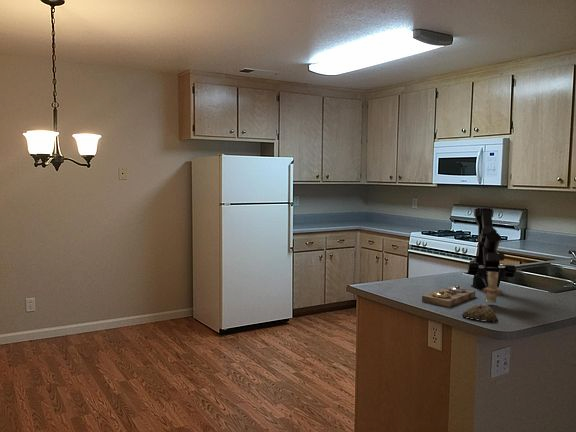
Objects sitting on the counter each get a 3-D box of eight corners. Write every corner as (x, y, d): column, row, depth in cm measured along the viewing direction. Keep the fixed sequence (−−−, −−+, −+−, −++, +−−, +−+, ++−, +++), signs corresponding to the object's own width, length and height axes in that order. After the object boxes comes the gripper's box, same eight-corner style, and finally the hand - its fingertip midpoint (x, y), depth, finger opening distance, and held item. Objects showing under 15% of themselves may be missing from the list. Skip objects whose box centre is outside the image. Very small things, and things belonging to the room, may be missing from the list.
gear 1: (437, 292, 218) (437, 288, 218) (454, 296, 213) (454, 291, 213) (428, 295, 213) (428, 291, 213) (445, 299, 207) (446, 294, 207)
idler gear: (491, 298, 215) (493, 269, 214) (504, 303, 208) (506, 273, 207) (478, 299, 212) (480, 270, 211) (490, 304, 206) (492, 274, 204)
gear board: (449, 291, 232) (450, 286, 232) (475, 296, 224) (475, 291, 224) (421, 301, 213) (422, 295, 213) (448, 307, 205) (448, 301, 205)
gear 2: (452, 287, 229) (453, 283, 229) (469, 290, 224) (469, 286, 224) (444, 290, 224) (444, 285, 223) (461, 293, 218) (462, 289, 218)
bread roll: (494, 324, 184) (495, 311, 183) (459, 319, 190) (460, 306, 189) (499, 316, 195) (500, 303, 195) (466, 311, 201) (466, 299, 201)
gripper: (469, 243, 214) (471, 274, 204) (517, 246, 210) (520, 277, 200) (466, 258, 222) (468, 288, 213) (512, 261, 218) (515, 292, 208)
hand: (492, 286), depth 208 cm, fingers closed on idler gear, 4 cm apart
